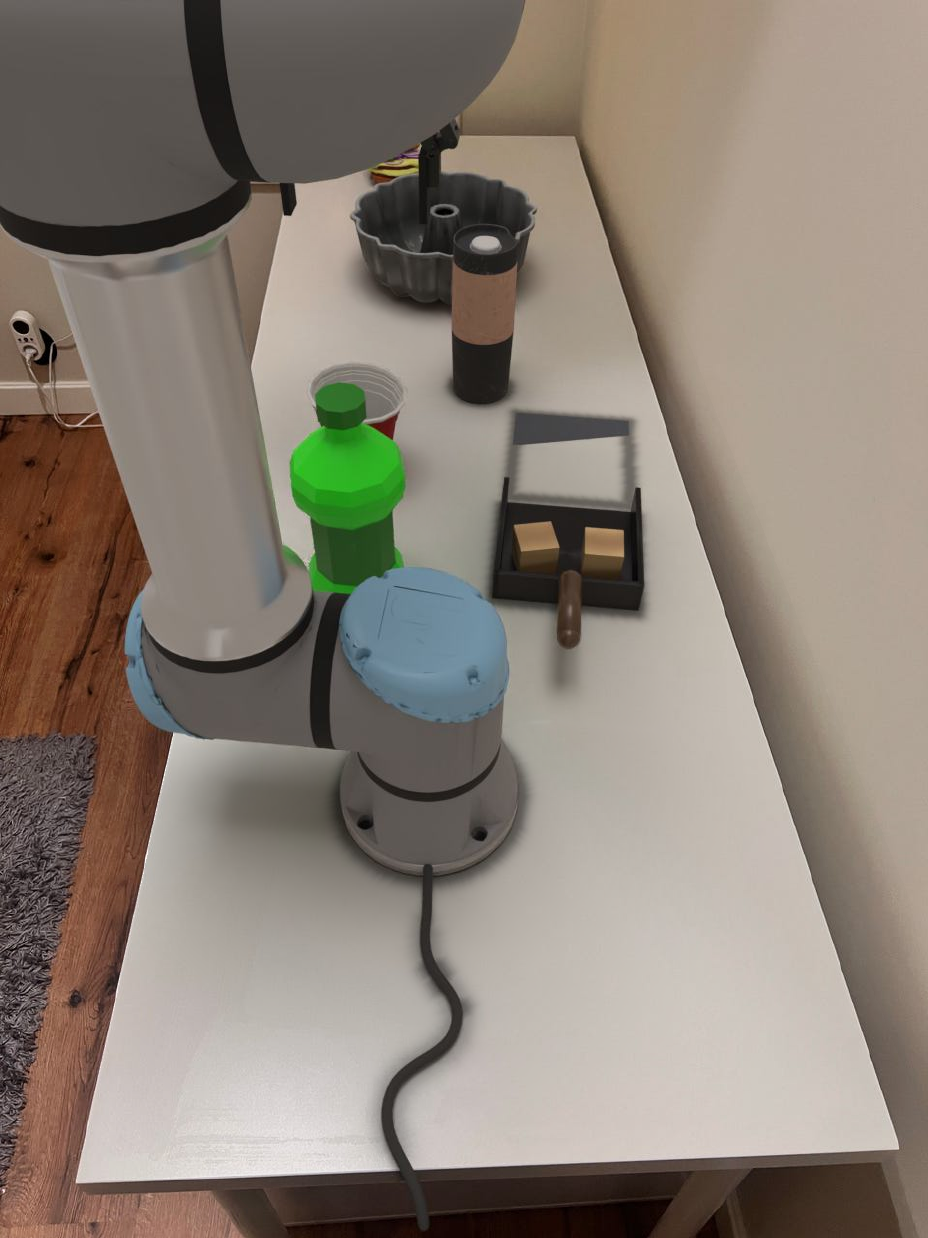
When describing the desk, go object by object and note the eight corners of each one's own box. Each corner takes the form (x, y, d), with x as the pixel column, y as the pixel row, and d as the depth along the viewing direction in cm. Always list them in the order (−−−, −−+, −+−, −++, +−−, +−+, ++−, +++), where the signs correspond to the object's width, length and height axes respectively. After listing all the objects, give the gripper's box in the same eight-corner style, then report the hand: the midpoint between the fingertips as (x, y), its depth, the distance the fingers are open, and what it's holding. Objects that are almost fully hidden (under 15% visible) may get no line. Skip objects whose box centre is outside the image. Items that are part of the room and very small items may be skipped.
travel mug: (443, 398, 121) (443, 248, 106) (461, 366, 126) (463, 218, 111) (500, 409, 120) (509, 259, 105) (516, 376, 125) (526, 228, 110)
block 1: (556, 574, 100) (559, 547, 97) (518, 578, 99) (521, 551, 96) (547, 548, 102) (551, 521, 99) (511, 552, 102) (513, 524, 99)
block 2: (618, 584, 99) (624, 556, 96) (580, 580, 99) (584, 553, 96) (618, 557, 102) (623, 529, 99) (581, 554, 102) (585, 526, 99)
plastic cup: (397, 511, 107) (393, 424, 98) (305, 497, 108) (292, 410, 99) (419, 452, 114) (417, 365, 105) (332, 439, 115) (323, 353, 106)
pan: (640, 701, 90) (654, 646, 84) (482, 686, 90) (485, 631, 84) (635, 515, 107) (646, 459, 101) (502, 505, 108) (505, 448, 102)
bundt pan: (326, 302, 136) (320, 235, 129) (393, 221, 153) (390, 158, 145) (502, 337, 131) (506, 268, 123) (551, 249, 148) (557, 184, 140)
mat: (630, 506, 108) (630, 505, 108) (507, 497, 109) (507, 495, 109) (628, 421, 119) (628, 420, 118) (516, 413, 119) (516, 412, 119)
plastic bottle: (402, 560, 102) (393, 357, 83) (414, 634, 95) (407, 430, 76) (308, 569, 100) (277, 365, 82) (313, 645, 94) (281, 441, 75)
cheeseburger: (385, 196, 158) (375, 130, 153) (360, 187, 166) (349, 124, 160) (438, 183, 162) (431, 118, 156) (411, 175, 170) (403, 113, 164)
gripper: (493, -43, 81) (484, 204, 97) (205, -57, 82) (244, 189, 98) (486, -17, 76) (478, 239, 92) (180, -32, 77) (224, 223, 93)
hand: (357, 214), depth 95 cm, fingers open, 13 cm apart
